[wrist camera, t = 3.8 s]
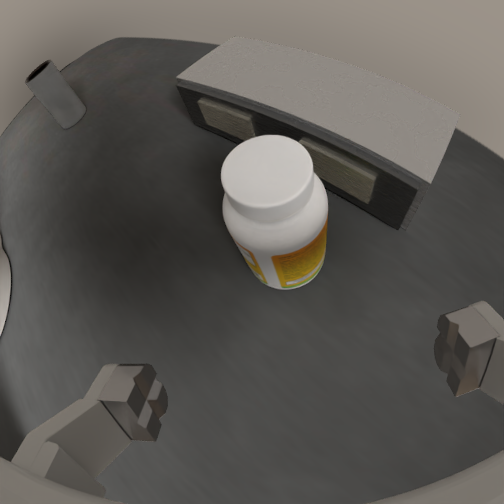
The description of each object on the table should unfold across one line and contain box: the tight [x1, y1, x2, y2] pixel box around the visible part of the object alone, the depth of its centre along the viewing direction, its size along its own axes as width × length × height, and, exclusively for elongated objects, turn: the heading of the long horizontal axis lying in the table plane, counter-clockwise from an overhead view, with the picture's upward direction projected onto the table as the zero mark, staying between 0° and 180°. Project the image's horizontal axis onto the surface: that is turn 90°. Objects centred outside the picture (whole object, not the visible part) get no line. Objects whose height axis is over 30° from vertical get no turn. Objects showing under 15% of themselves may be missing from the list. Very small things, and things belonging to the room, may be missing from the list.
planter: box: [25, 60, 86, 129], centre depth 31 cm, size 4×4×10 cm
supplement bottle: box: [221, 135, 328, 289], centre depth 17 cm, size 5×5×10 cm
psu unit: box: [176, 36, 460, 230], centre depth 22 cm, size 22×9×6 cm, turn 51°
